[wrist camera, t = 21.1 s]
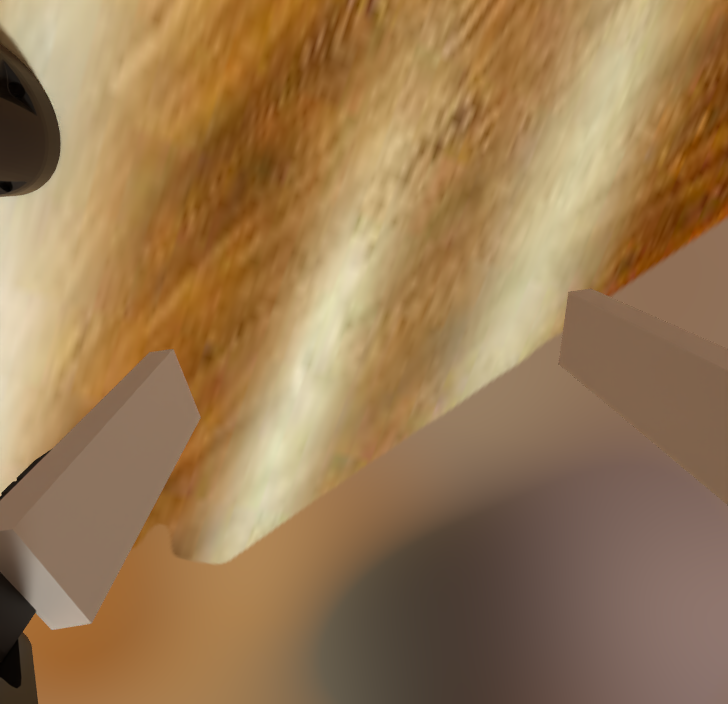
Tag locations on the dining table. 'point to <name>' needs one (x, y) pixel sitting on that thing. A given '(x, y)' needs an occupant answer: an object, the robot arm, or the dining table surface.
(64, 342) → the dining table surface
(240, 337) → the dining table surface
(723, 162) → the dining table surface
